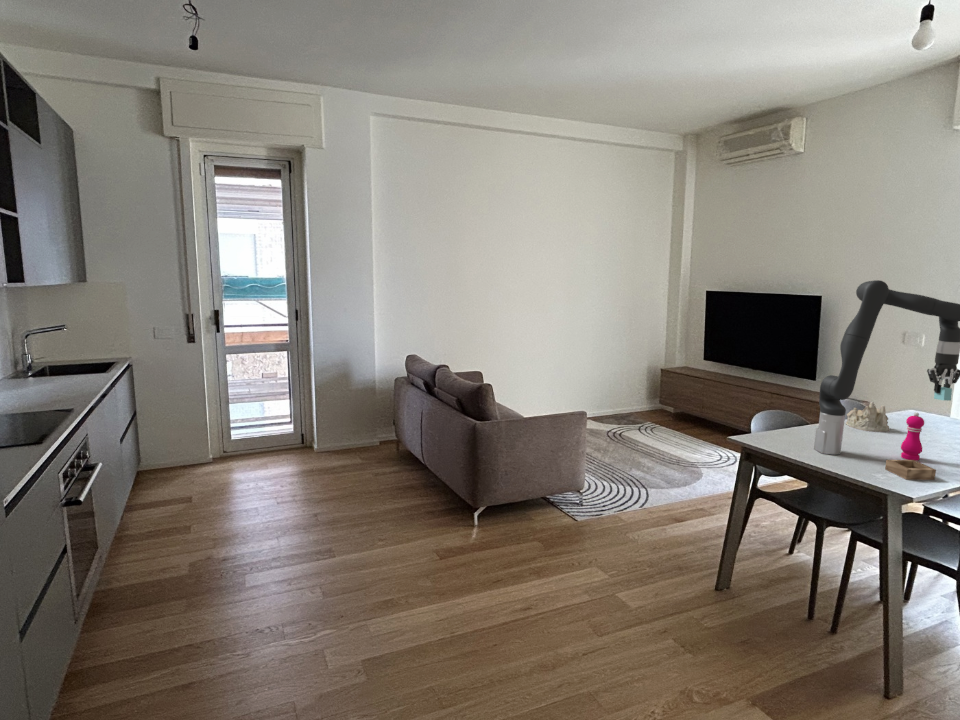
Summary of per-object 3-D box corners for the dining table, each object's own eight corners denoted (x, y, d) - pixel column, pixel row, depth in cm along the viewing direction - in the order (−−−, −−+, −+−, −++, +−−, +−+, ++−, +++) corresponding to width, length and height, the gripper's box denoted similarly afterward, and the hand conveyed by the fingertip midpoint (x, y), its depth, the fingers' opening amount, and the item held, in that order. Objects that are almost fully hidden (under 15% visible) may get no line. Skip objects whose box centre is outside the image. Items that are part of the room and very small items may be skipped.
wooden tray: (906, 479, 215) (907, 469, 214) (885, 469, 226) (886, 459, 225) (934, 479, 215) (936, 469, 215) (912, 469, 226) (913, 459, 225)
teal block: (951, 400, 234) (952, 388, 233) (943, 400, 234) (944, 388, 233) (940, 398, 239) (941, 386, 238) (934, 398, 239) (934, 386, 238)
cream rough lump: (895, 431, 278) (896, 401, 276) (861, 432, 278) (863, 402, 276) (872, 425, 293) (874, 396, 292) (841, 425, 293) (842, 397, 292)
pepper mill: (895, 455, 243) (901, 410, 240) (911, 455, 243) (917, 410, 240) (908, 461, 236) (915, 414, 232) (925, 461, 236) (932, 414, 233)
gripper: (938, 353, 230) (932, 394, 233) (972, 353, 230) (965, 395, 233) (923, 350, 237) (917, 390, 240) (956, 351, 238) (950, 391, 240)
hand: (941, 392), depth 237 cm, fingers closed on teal block, 3 cm apart
